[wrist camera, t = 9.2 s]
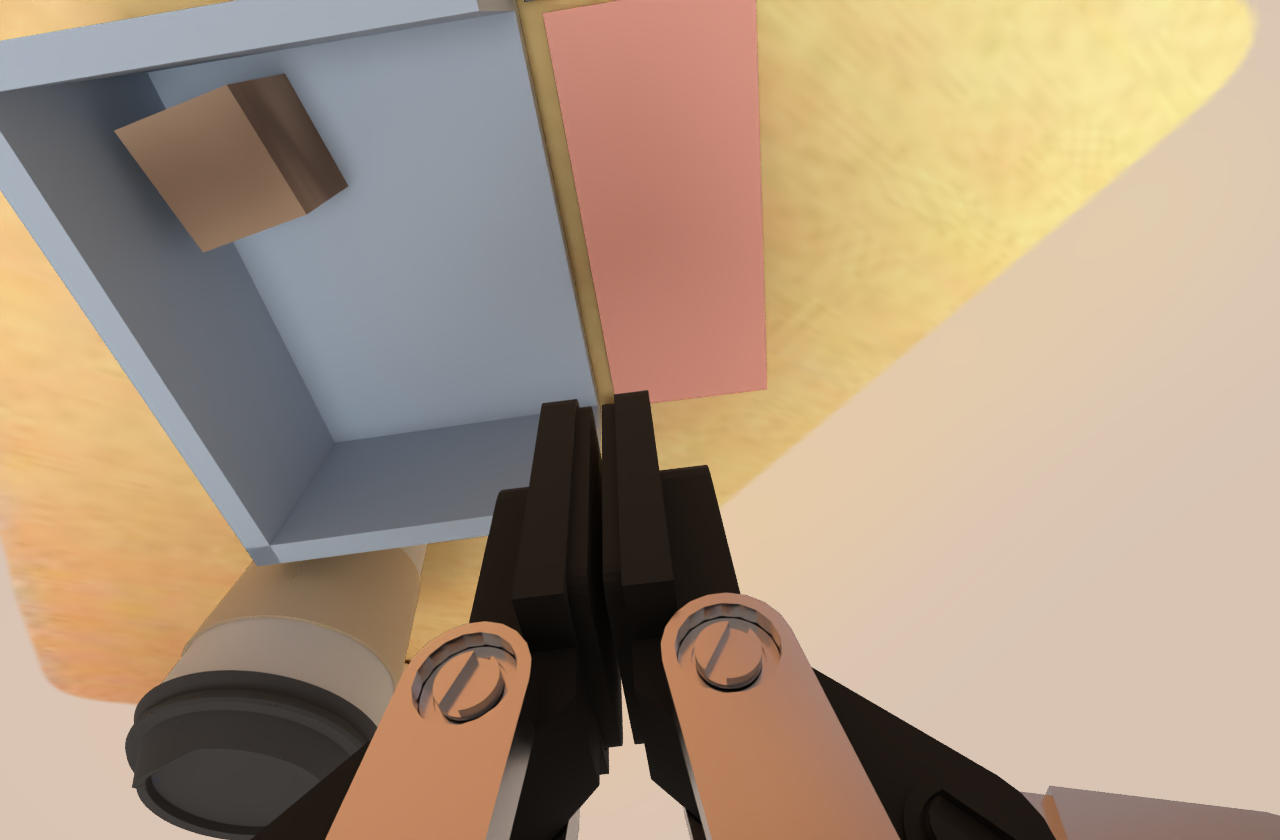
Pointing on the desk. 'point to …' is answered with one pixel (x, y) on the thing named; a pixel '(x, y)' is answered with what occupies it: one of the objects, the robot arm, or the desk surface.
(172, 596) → the desk surface
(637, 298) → the tailgate
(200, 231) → the cargo block
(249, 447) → the tray
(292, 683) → the coffee cup
